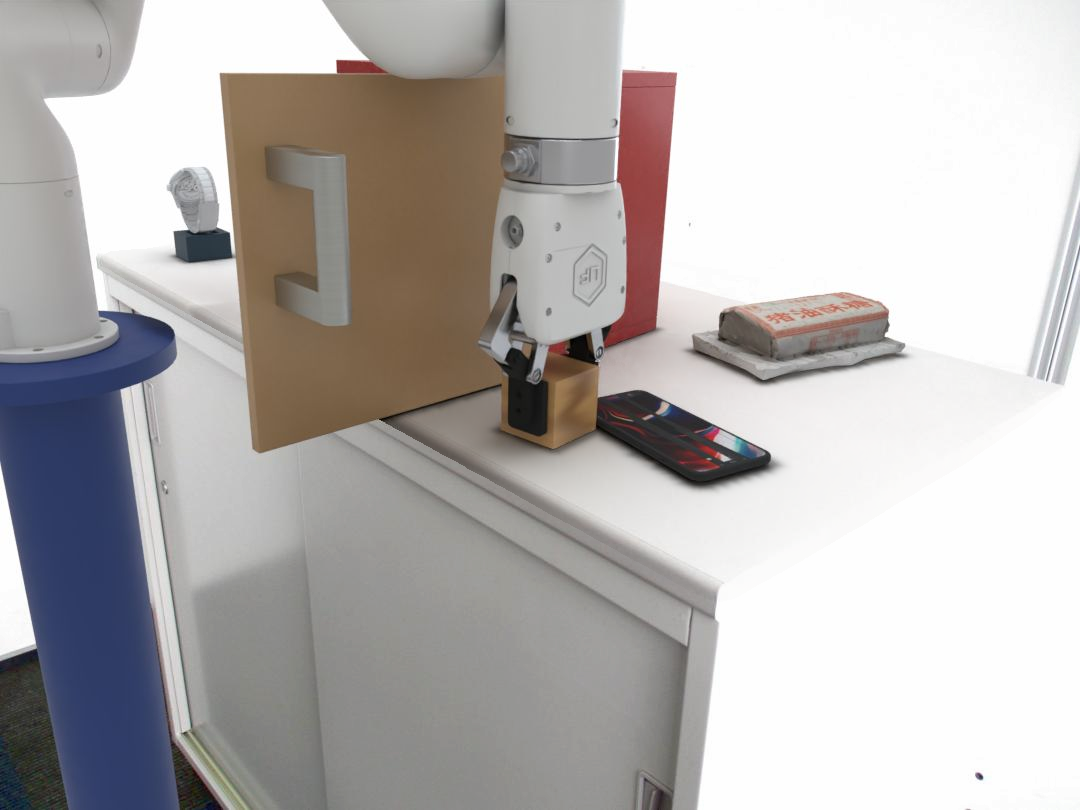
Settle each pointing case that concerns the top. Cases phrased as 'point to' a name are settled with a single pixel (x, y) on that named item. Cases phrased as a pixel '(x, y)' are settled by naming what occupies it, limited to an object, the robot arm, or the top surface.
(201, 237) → the watch
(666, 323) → the top surface
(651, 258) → the cabinet
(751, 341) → the packaged product
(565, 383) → the oak block
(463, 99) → the cabinet door
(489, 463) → the top surface
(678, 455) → the smartphone
